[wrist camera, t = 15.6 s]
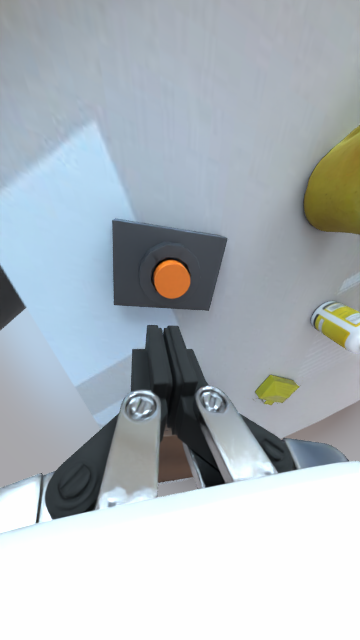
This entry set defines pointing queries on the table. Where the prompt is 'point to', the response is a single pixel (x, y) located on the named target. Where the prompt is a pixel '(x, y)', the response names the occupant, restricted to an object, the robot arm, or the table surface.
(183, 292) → the button
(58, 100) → the table surface
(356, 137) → the mug
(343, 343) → the supplement bottle
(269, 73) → the table surface
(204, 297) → the control block
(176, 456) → the cabinet
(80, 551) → the robot arm
